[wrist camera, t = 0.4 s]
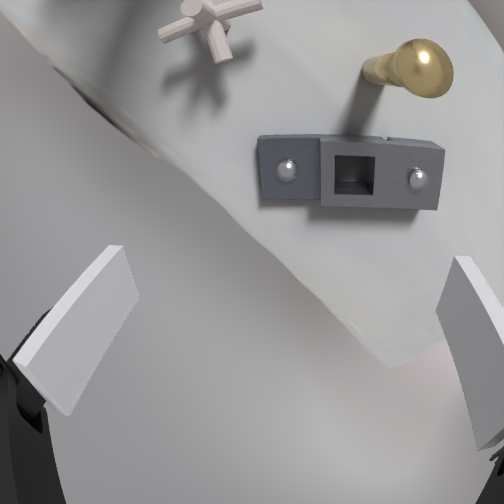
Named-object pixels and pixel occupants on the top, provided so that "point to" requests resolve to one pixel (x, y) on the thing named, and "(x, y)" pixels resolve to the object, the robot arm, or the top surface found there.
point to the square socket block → (352, 193)
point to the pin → (413, 69)
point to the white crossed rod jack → (209, 23)
